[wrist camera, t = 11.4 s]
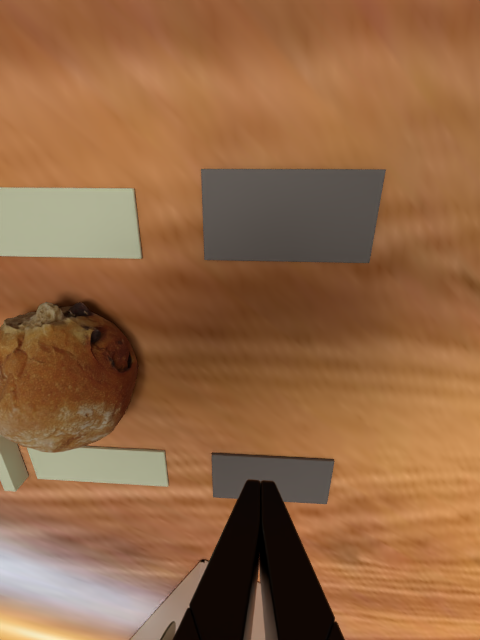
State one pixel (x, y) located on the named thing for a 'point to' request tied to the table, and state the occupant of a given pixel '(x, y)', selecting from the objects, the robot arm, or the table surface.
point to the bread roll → (63, 377)
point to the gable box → (167, 618)
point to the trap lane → (219, 244)
